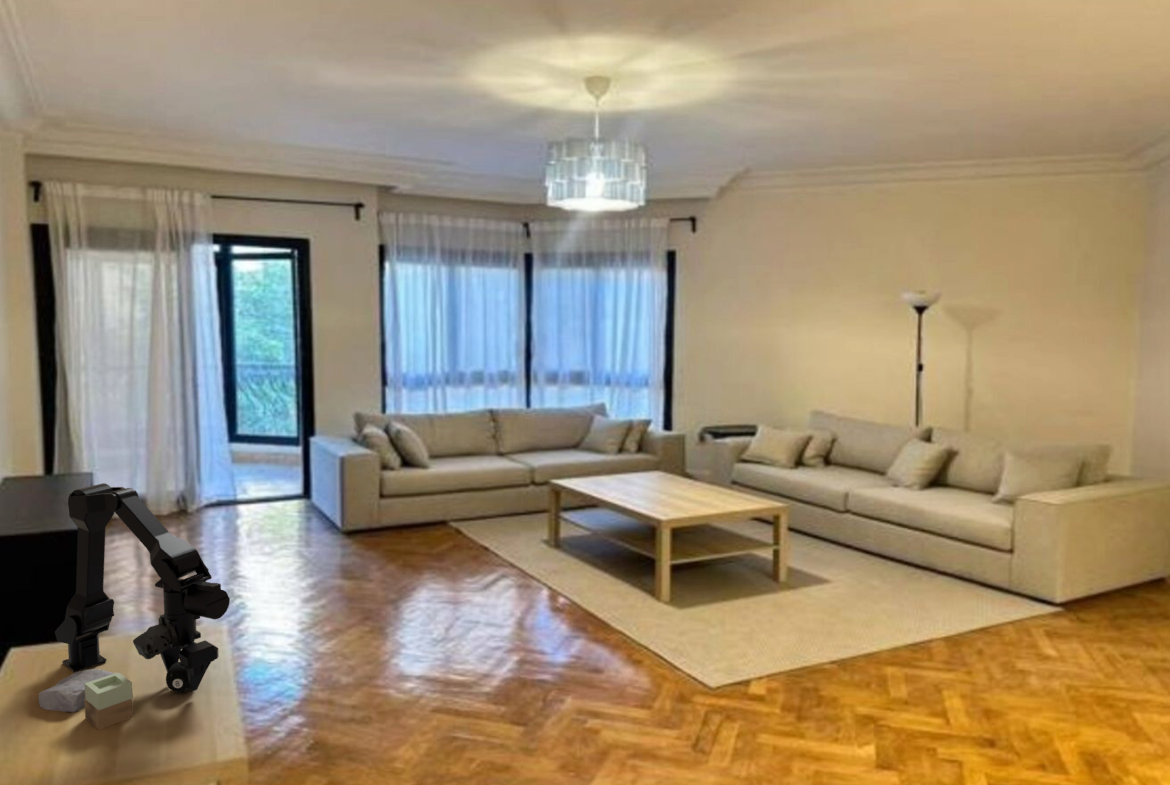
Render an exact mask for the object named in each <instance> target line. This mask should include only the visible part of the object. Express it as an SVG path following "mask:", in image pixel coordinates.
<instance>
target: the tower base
mask: <svg viewBox="0 0 1170 785" xmlns="http://www.w3.org/2000/svg"><path fill="white" fill-rule="evenodd" d="M84 702H85V707H84V717H85V719H86V720H87V721H88V722H89V723H90V724H91V725H93V726H94V727H95V728H96V729H98V730H102V729H105V728H107V727H110V726H113V725H115V724H118V723H120V722H123V721H125V720H129V719H131V718H133V717H134V716H133V715H134V712H133V698H132V699H129V700H126V701H124V702H121V703H118V704H115V705H112V706H110V707H107V708H104V709H101V710H98V709H96V708H95V707H94V706H93V705H92V704H90V703H89V702H88V701H87V700H86V699H84ZM128 718H129V719H128Z"/></svg>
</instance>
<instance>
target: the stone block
mask: <svg viewBox="0 0 1170 785" xmlns="http://www.w3.org/2000/svg"><path fill="white" fill-rule="evenodd" d="M115 673H116V672H111V671H108V670H103V669H99V668H91V669H83V670H79V671H76V672H73V673H72V674H71V675H68V676H66V677H64V678H62V679H61V680H59V681H58V682H57V683H55V685H53V686H50V687H49V688H47V689H44V690H42V691H41V692H39V693H38V704H39V708H41V709H45V710H47V711H60V712H64V713H65V712H67V713H76V712H78V711H80V710H82V709H83V708H84V709H85V702H84V699H85V683H87V682H90V681H93V680H97V679H100V678H103V677H106V676H109V675H112V674H115Z"/></svg>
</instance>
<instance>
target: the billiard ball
mask: <svg viewBox="0 0 1170 785" xmlns="http://www.w3.org/2000/svg"><path fill="white" fill-rule="evenodd" d="M180 663H181V662H180V661H178V662H177V663H175V664H174V665H172V666H171V667H170V668H169V670H168V672H167V671H166V676H165V683H166V686H167V688H168V689H169V690H170V691H171V692H174V693H186V692H188V691H191V689H190V685H189V680H188V674H187V669H186V668H184V667H182V666H181V665H180Z"/></svg>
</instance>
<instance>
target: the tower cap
mask: <svg viewBox="0 0 1170 785" xmlns="http://www.w3.org/2000/svg"><path fill="white" fill-rule="evenodd" d="M114 673H115V674H112V675H109V676H106V677H103V678H100V679H97V680H93V681H90V682H87V683H85V699H86V700H87V701H88V702H89V703H90V704H92V705H93V706H94V707H95V708H96V709H98V710H101V709H104V708H107V707H110V706H112V705H115V704H118V703H121V702H124V701H126V700H129V699H132V700H133V698H134V695H133V682H132V681H131V680H130V679H128V678H127V677H126V676H124V675H123V674H122V673H120V672H114Z"/></svg>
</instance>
